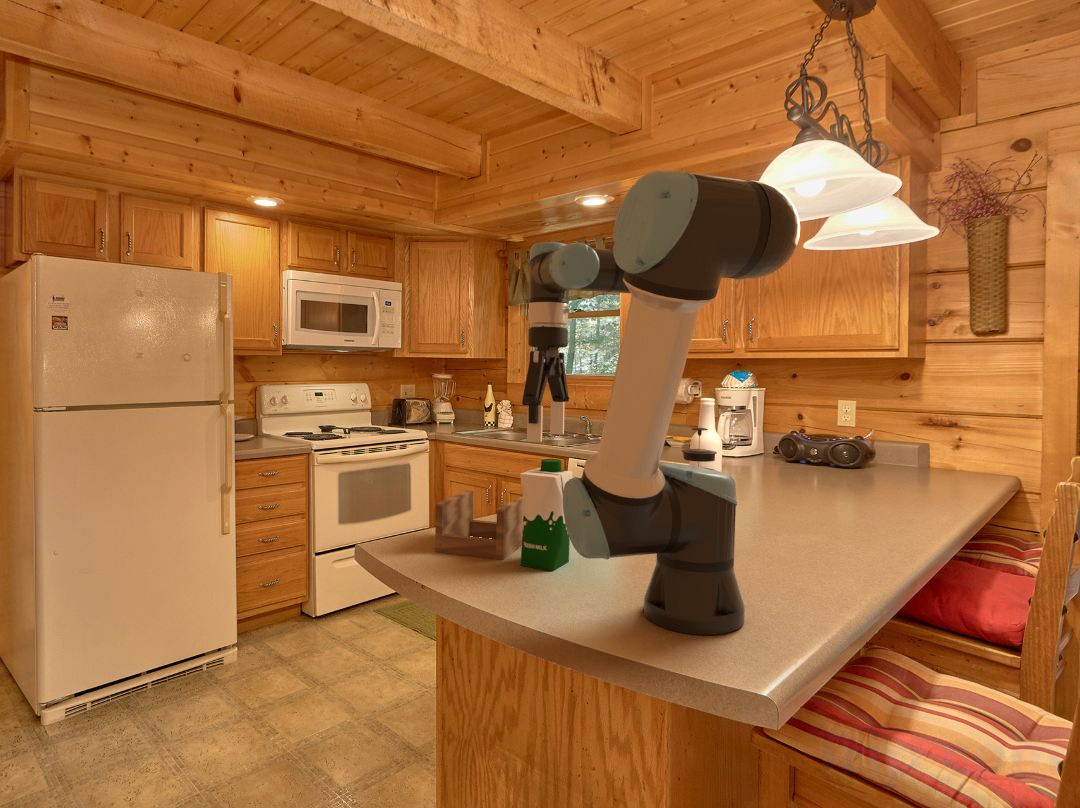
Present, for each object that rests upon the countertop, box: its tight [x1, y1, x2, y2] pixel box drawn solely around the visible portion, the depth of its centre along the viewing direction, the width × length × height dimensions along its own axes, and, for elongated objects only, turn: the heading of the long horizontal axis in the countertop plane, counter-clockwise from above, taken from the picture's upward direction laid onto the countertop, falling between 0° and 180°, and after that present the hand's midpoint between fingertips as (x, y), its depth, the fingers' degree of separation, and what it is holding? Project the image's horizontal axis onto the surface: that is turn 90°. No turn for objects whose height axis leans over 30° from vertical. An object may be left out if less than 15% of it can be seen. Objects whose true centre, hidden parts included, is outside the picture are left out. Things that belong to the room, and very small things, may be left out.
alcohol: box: [689, 397, 723, 472], centre depth 185 cm, size 9×9×30 cm
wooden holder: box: [434, 490, 523, 561], centre depth 139 cm, size 15×15×10 cm
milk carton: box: [519, 458, 573, 572], centre depth 127 cm, size 9×9×20 cm
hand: (546, 437), depth 127 cm, fingers open, 13 cm apart
